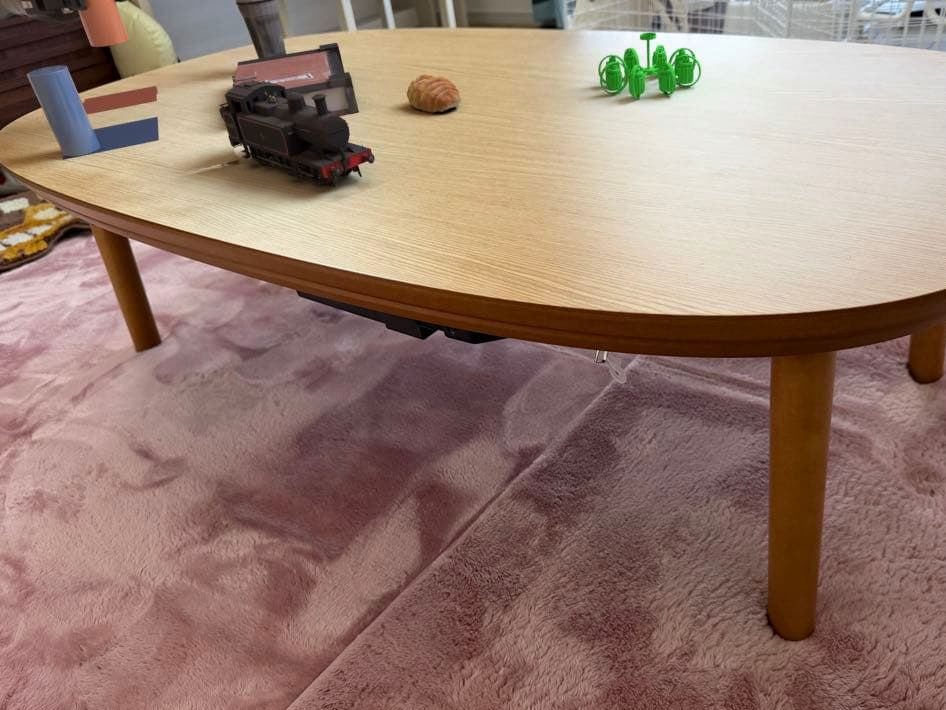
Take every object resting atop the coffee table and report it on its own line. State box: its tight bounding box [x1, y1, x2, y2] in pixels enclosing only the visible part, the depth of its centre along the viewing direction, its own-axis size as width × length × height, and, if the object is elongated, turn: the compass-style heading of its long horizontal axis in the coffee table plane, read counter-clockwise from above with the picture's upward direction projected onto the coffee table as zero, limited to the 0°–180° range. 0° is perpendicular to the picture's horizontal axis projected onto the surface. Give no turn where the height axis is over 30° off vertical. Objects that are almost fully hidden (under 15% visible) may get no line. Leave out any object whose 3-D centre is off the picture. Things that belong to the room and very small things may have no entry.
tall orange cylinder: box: [78, 0, 130, 48], centre depth 113 cm, size 5×5×11 cm
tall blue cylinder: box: [26, 65, 100, 158], centre depth 112 cm, size 5×5×11 cm
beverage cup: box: [235, 0, 287, 59], centre depth 142 cm, size 7×7×20 cm
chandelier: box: [597, 32, 702, 99], centre depth 113 cm, size 15×15×7 cm
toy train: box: [218, 80, 376, 188], centre depth 98 cm, size 8×25×10 cm, turn 45°
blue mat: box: [62, 116, 160, 161], centre depth 120 cm, size 13×14×1 cm
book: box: [231, 42, 360, 116], centre depth 127 cm, size 26×18×5 cm
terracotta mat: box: [83, 85, 158, 115], centre depth 138 cm, size 12×12×1 cm
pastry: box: [406, 73, 462, 114], centre depth 116 cm, size 9×7×4 cm
